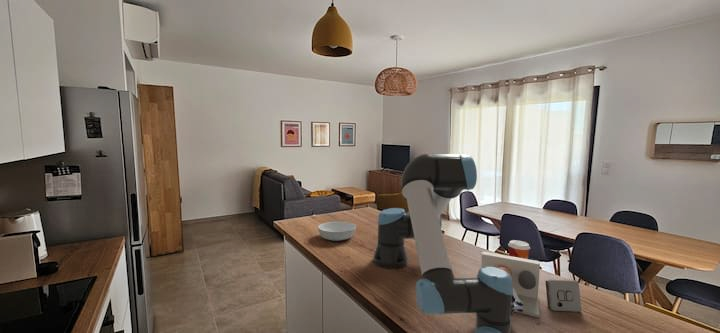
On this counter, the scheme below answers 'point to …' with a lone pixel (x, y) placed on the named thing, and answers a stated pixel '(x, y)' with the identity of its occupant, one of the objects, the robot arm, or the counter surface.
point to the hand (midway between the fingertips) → (502, 279)
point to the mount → (519, 278)
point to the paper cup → (518, 249)
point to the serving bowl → (336, 230)
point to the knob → (505, 269)
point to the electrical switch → (563, 295)
